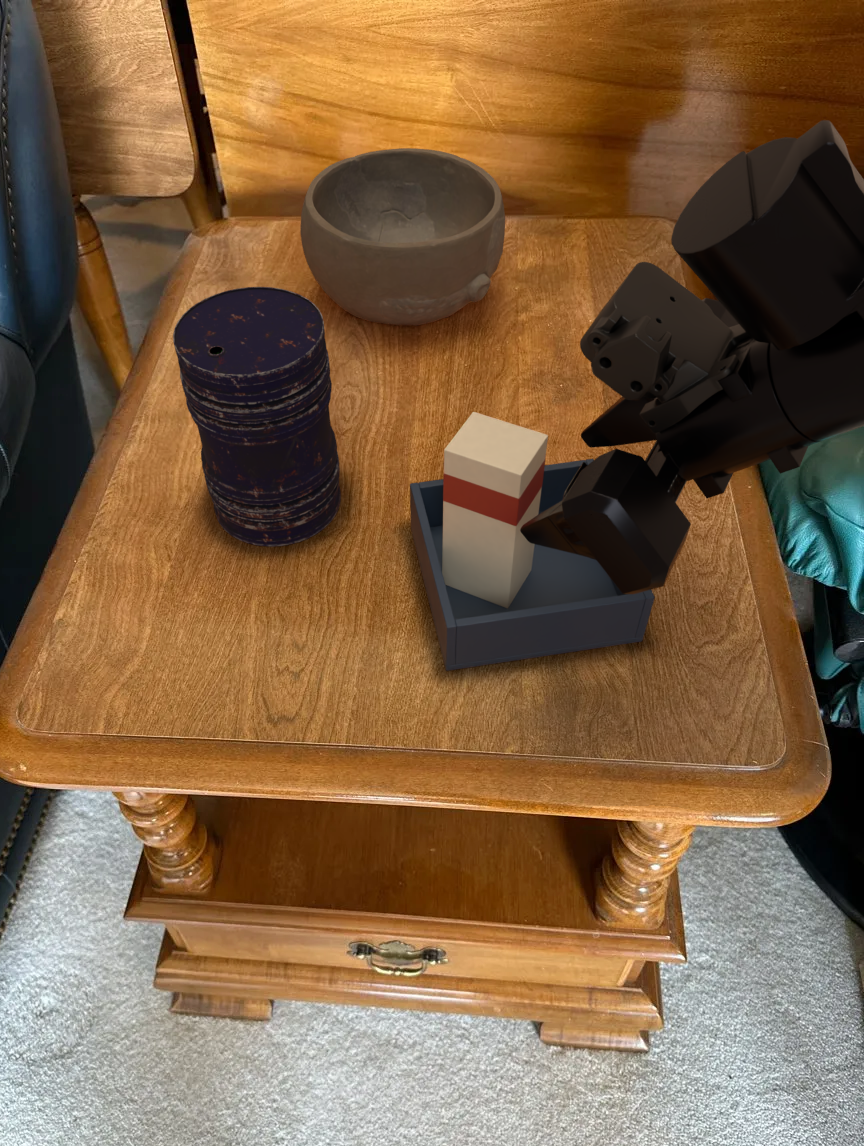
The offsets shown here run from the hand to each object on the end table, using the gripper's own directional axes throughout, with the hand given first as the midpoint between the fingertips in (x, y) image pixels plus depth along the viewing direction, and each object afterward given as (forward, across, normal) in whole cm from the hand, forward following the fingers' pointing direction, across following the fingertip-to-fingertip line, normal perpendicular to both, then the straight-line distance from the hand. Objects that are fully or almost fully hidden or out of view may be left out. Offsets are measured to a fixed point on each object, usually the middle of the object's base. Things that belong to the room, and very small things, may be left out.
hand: (556, 485), depth 57 cm
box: (+9, -1, +6) cm, 11 cm away
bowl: (+26, -29, -10) cm, 40 cm away
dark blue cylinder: (+23, 0, -7) cm, 24 cm away
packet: (+10, 0, +4) cm, 11 cm away
